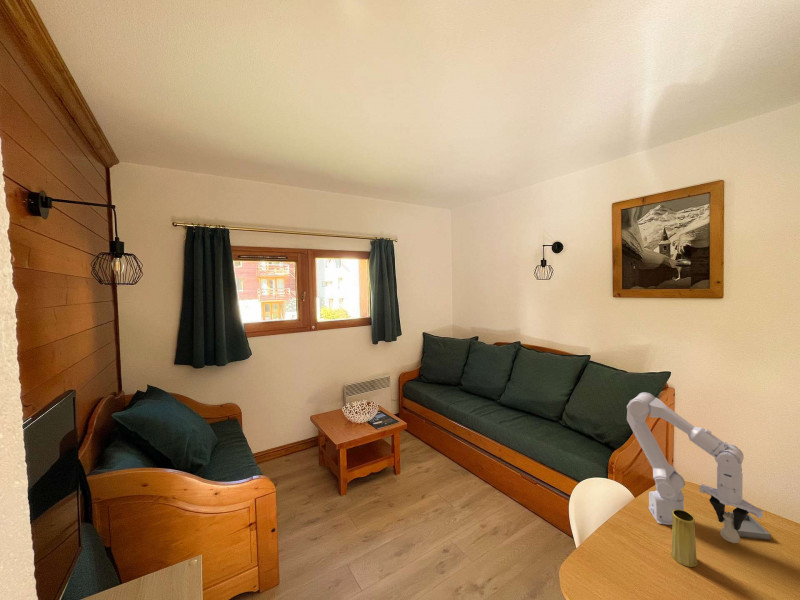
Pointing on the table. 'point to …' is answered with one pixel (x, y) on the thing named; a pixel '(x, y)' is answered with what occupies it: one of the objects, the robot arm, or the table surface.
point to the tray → (752, 529)
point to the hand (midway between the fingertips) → (729, 524)
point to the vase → (683, 538)
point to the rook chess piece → (729, 528)
